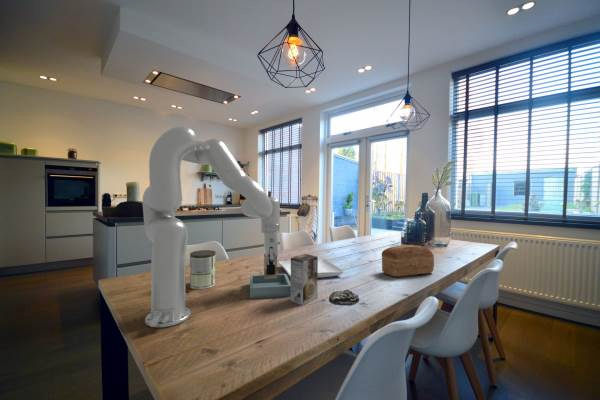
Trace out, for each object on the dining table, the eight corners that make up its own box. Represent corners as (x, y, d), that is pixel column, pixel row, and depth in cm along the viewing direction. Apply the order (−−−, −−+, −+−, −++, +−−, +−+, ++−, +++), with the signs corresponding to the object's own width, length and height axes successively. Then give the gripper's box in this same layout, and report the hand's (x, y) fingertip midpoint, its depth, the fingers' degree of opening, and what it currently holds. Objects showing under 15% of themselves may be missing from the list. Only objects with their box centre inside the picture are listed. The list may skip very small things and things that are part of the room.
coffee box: (304, 294, 103) (305, 253, 103) (317, 298, 99) (318, 256, 99) (289, 300, 96) (290, 257, 96) (303, 305, 92) (303, 260, 92)
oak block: (277, 278, 105) (277, 256, 105) (264, 278, 104) (264, 256, 104) (275, 274, 110) (275, 253, 110) (263, 275, 109) (264, 253, 109)
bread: (377, 272, 135) (378, 245, 135) (419, 268, 144) (420, 242, 144) (393, 279, 124) (393, 249, 123) (437, 274, 133) (438, 246, 133)
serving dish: (291, 296, 101) (291, 285, 101) (249, 298, 98) (249, 287, 98) (286, 282, 116) (286, 273, 116) (249, 284, 113) (250, 275, 113)
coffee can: (187, 284, 113) (187, 251, 112) (210, 279, 119) (211, 249, 119) (193, 291, 104) (193, 256, 104) (218, 286, 110) (218, 253, 110)
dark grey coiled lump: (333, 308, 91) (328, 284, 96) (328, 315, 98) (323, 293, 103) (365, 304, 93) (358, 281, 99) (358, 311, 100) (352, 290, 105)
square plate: (277, 267, 142) (277, 260, 142) (323, 264, 151) (323, 257, 151) (290, 283, 117) (290, 274, 117) (345, 278, 125) (345, 270, 125)
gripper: (282, 231, 99) (281, 278, 99) (277, 225, 116) (277, 266, 116) (262, 231, 98) (262, 279, 98) (260, 226, 114) (260, 267, 115)
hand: (270, 271), depth 107 cm, fingers closed on oak block, 5 cm apart
